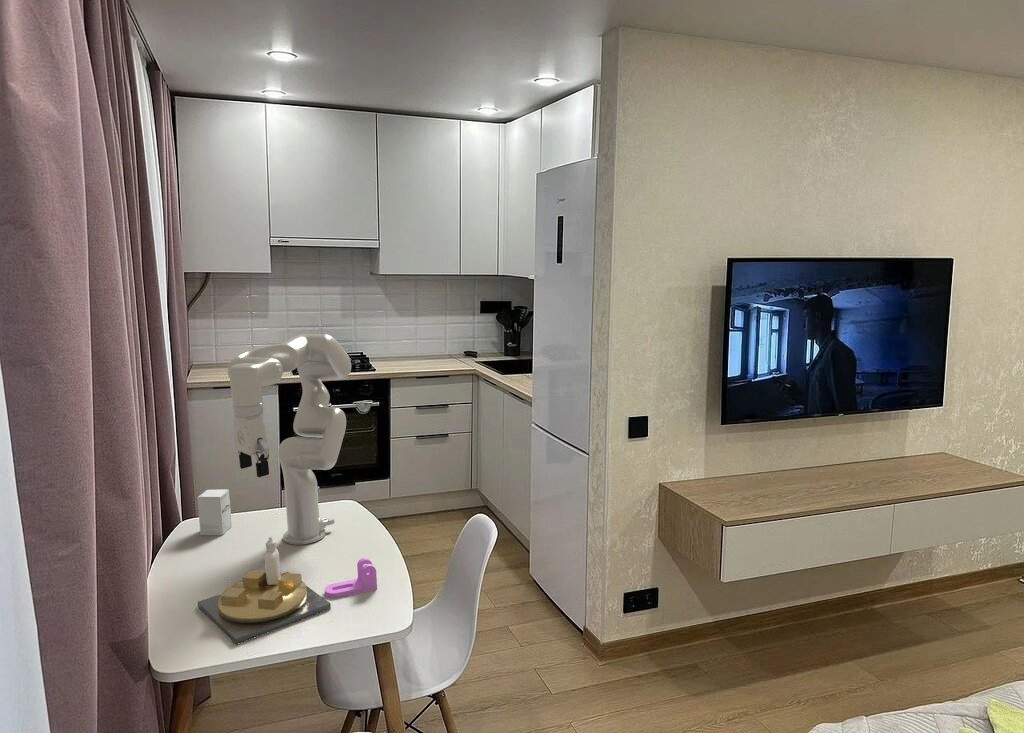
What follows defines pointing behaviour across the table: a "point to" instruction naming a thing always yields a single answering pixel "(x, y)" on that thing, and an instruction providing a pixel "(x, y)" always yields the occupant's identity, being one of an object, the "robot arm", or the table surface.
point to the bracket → (355, 581)
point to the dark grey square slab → (251, 630)
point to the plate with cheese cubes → (262, 598)
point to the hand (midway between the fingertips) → (254, 471)
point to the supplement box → (214, 512)
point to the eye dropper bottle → (272, 563)
